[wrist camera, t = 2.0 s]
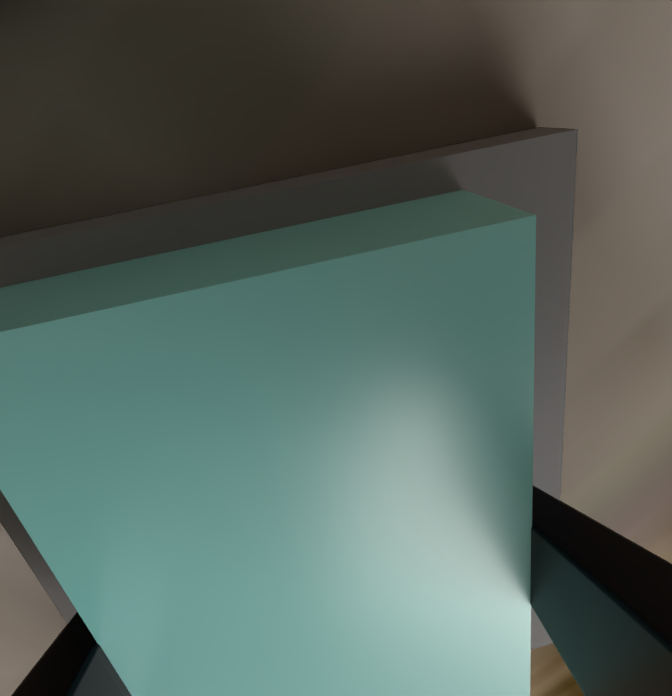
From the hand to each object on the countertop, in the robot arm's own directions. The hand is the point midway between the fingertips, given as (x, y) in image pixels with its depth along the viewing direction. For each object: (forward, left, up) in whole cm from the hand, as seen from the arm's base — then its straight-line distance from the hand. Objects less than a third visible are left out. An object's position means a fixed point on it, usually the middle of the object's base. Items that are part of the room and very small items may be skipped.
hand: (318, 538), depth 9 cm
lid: (0, 0, 0) cm, 0 cm away
